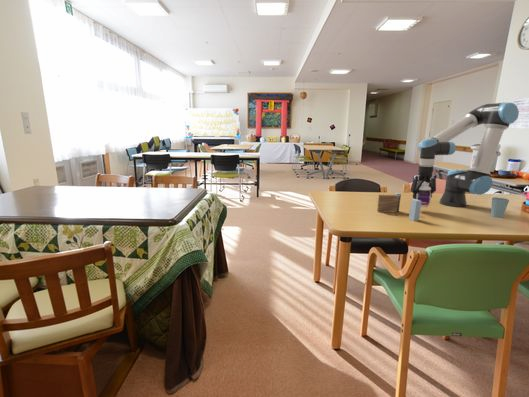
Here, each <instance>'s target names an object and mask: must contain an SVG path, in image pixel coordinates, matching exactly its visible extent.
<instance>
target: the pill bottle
mask: <svg viewBox="0 0 529 397" xmlns="http://www.w3.org/2000/svg"><path fill="white" fill-rule="evenodd" d="M417 193H418V200H420V201H422V202H421V208H428V207H429V206H430V204H429V201H430V193H431V188H430V187H429V183H428V182H423V183H422V185H421V187H420V188H419V190H418V192H417ZM430 202H431V201H430Z"/></svg>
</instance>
